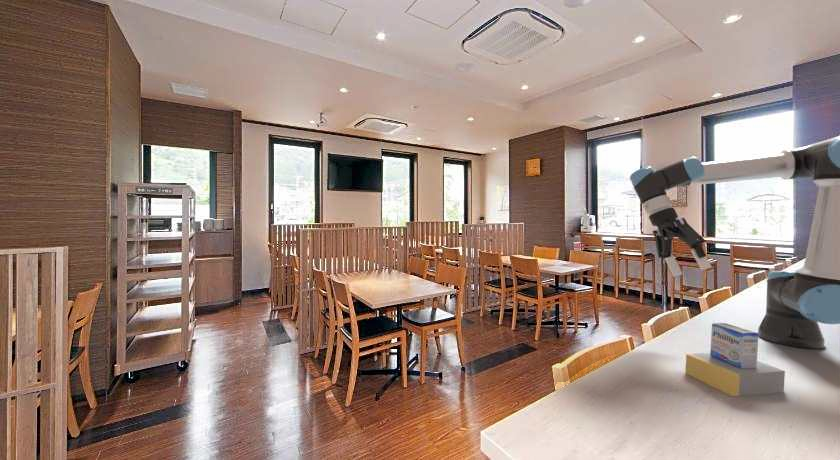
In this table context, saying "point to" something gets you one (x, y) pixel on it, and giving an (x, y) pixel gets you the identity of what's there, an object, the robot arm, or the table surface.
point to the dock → (735, 376)
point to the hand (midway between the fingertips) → (691, 272)
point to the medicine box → (734, 345)
